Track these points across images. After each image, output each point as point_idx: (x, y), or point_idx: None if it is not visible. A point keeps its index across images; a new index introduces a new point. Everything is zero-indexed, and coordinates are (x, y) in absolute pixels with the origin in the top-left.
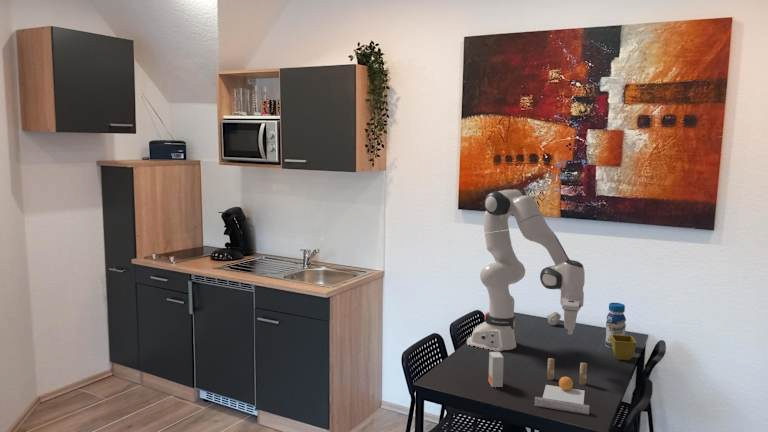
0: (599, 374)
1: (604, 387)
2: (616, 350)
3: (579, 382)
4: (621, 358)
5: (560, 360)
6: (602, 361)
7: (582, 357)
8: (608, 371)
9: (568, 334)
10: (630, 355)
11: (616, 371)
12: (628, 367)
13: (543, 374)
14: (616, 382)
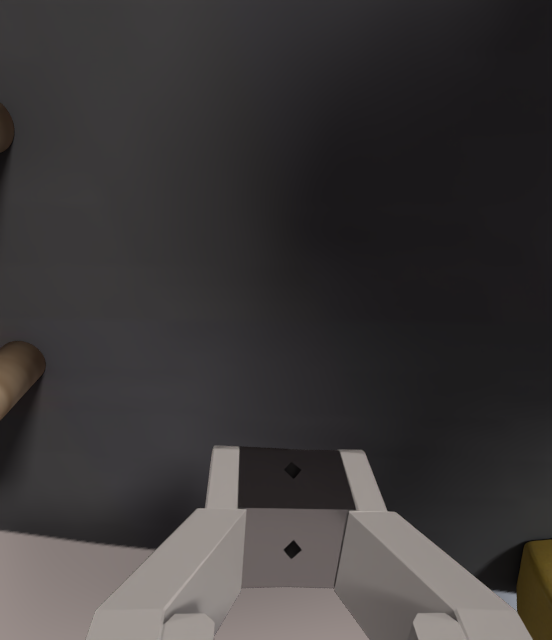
0: None
1: (34, 473)
2: (544, 596)
3: (4, 346)
4: (522, 567)
5: (458, 210)
6: (484, 473)
7: (546, 366)
8: None
9: (215, 450)
10: None
11: None
12: None
13: (65, 57)
14: (150, 527)
